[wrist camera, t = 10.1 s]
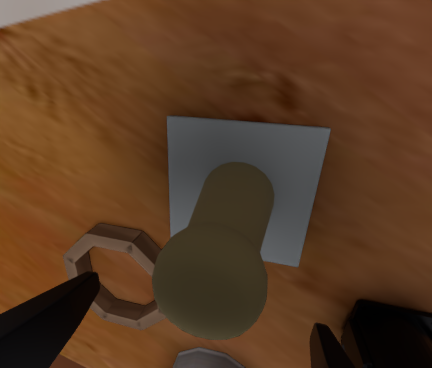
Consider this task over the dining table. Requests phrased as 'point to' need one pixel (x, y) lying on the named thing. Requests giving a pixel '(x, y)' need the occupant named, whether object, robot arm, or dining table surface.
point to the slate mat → (257, 156)
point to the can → (205, 359)
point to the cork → (218, 256)
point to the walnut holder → (104, 301)
